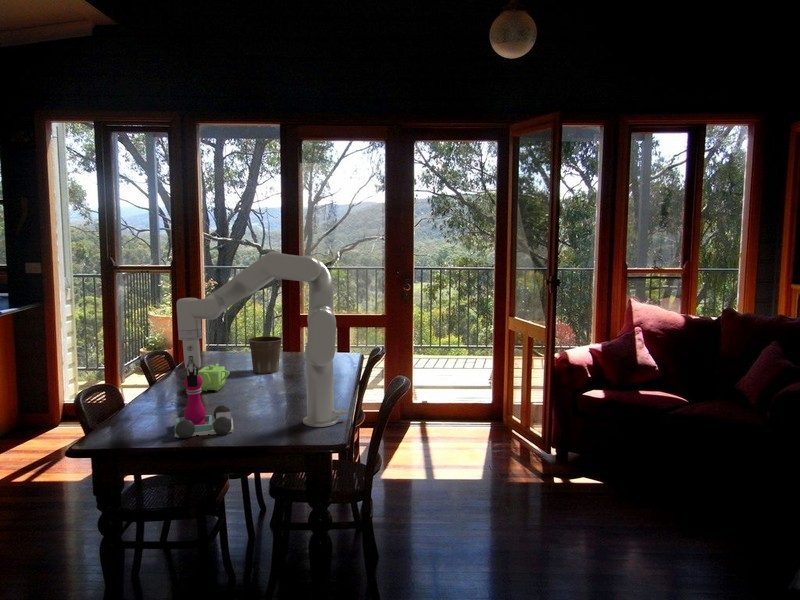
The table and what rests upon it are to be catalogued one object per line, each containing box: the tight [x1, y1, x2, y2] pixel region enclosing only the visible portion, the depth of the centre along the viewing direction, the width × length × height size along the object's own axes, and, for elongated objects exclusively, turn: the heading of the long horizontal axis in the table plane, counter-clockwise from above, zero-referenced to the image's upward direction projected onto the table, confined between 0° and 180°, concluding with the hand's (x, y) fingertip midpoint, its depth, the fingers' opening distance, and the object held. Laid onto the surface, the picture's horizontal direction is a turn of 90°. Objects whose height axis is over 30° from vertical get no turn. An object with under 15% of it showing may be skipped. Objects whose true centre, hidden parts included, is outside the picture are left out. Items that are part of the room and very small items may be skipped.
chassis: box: [174, 404, 234, 439], centre depth 219 cm, size 19×16×6 cm
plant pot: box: [247, 335, 283, 375], centre depth 306 cm, size 16×16×16 cm
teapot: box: [198, 363, 231, 392], centre depth 273 cm, size 15×13×11 cm
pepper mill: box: [183, 375, 207, 425], centre depth 217 cm, size 7×7×20 cm
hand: (193, 383), depth 217 cm, fingers open, 9 cm apart
